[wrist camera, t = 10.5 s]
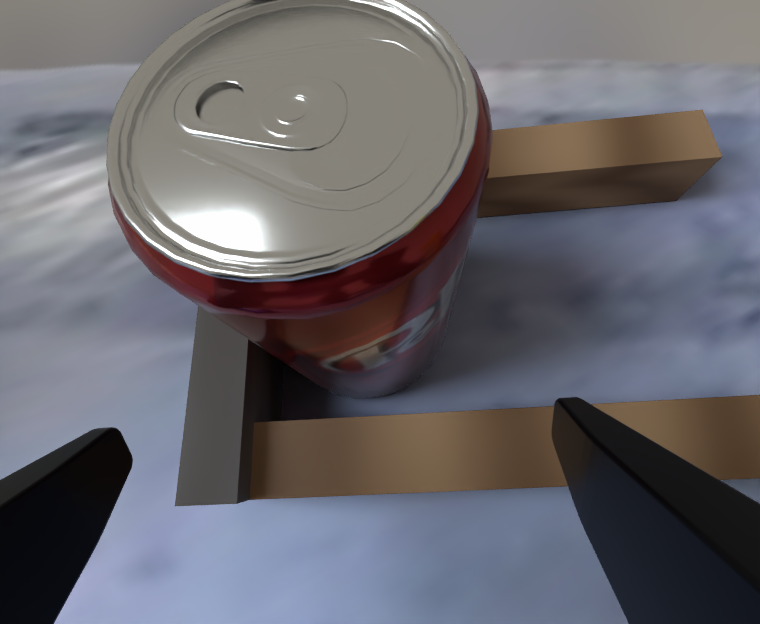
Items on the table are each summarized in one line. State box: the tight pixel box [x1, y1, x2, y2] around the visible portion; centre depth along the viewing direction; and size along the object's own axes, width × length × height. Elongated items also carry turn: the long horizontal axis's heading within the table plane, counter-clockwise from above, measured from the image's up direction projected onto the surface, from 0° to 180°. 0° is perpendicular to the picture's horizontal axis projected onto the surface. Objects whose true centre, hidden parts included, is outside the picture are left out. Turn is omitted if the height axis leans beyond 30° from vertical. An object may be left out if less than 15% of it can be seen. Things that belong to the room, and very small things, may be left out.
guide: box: [175, 110, 760, 506], centre depth 16 cm, size 21×14×4 cm
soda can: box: [106, 0, 493, 398], centre depth 12 cm, size 7×7×12 cm
